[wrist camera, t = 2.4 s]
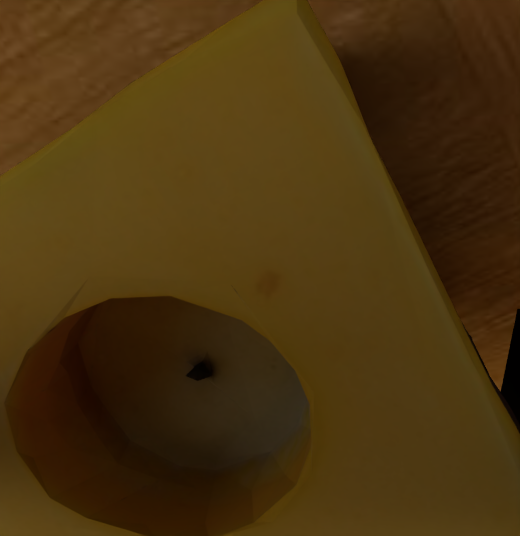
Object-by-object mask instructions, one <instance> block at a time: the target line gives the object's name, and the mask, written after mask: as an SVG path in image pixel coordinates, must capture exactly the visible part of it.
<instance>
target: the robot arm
mask: <svg viewBox="0 0 520 536" xmlns="http://www.w3.org/2000/svg"><path fill="white" fill-rule="evenodd" d="M501 394H502V395H503V397H504V398H505V400H506V401H507V403H508V404H509V406H510V408H511V409H512V411H513V413H514V415H515V417H516V419H517V420H518V422H519V424H520V309H517V314H516V319H515V324H514V329H513V334H512V339H511V344H510V349H509V354H508V359H507V364H506V369H505V373H504V378H503V383H502V388H501Z"/></svg>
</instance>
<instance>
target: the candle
mask: <svg viewBox="0 0 520 536" xmlns="http://www.w3.org/2000/svg"><path fill="white" fill-rule="evenodd" d="M0 536H520V424H519V422H518V420H517V419H516V417H515V415H514V413H513V411H512V409H511V408H510V406H509V404H508V403H507V401H506V400H505V398H504V397H503V395H502V394H501V392H500V391H499V389H498V388H497V386H496V385H495V383H494V382H493V380H492V379H491V377H490V376H489V373H488V371H487V369H486V367H485V365H484V363H483V361H482V359H481V357H480V355H479V353H478V351H477V349H476V346H475V345H474V343H473V341H472V337H471V336H470V335H469V334H468V332H467V331H466V329H465V327H464V325H463V323H462V322H461V320H460V318H459V316H458V314H457V312H456V310H455V308H454V306H453V304H452V302H451V300H450V298H449V296H448V294H447V292H446V290H445V287H444V285H443V283H442V281H441V279H440V277H439V275H438V273H437V271H436V269H435V267H434V265H433V262H432V260H431V258H430V256H429V254H428V252H427V250H426V248H425V246H424V244H423V242H422V240H421V238H420V236H419V233H418V231H417V229H416V227H415V225H414V223H413V221H412V219H411V217H410V215H409V213H408V211H407V209H406V207H405V204H404V202H403V200H402V198H401V196H400V194H399V192H398V190H397V188H396V186H395V185H394V183H393V181H392V179H391V177H390V175H389V173H388V171H387V169H386V167H385V165H384V163H383V161H382V159H381V158H380V156H379V154H378V152H377V150H376V148H375V146H374V144H373V141H372V139H371V137H370V134H369V132H368V129H367V127H366V124H365V122H364V119H363V117H362V114H361V112H360V109H359V107H358V104H357V102H356V99H355V97H354V94H353V92H352V89H351V87H350V84H349V82H348V79H347V77H346V74H345V72H344V69H343V67H342V64H341V62H340V59H339V57H338V56H337V54H336V52H335V50H334V48H333V46H332V45H331V43H330V41H329V39H328V37H327V36H326V34H325V32H324V30H323V28H322V27H321V25H320V23H319V21H318V19H317V18H316V16H315V14H314V12H313V10H312V9H311V7H310V5H309V3H308V1H307V0H264V1H262V2H260V3H259V4H257V5H255V6H254V7H252V8H250V9H249V10H247V11H245V12H244V13H242V14H240V15H239V16H237V17H235V18H234V19H232V20H230V21H229V22H227V23H225V24H224V25H222V26H221V27H219V28H218V29H216V30H214V31H213V32H211V33H210V34H208V35H206V36H205V37H203V38H202V39H200V40H198V41H197V42H195V43H194V44H192V45H191V46H189V47H187V48H186V49H184V50H183V51H181V52H179V53H178V54H176V55H175V56H173V57H171V58H170V59H168V60H167V61H165V62H164V63H162V64H160V65H159V66H157V67H156V68H154V69H152V70H151V71H149V72H148V73H146V74H144V75H143V76H141V77H140V78H138V79H137V80H135V81H133V82H132V83H130V84H129V85H128V86H126V87H125V88H124V89H123V90H121V91H120V92H119V93H117V94H116V95H115V96H113V97H112V98H111V99H110V100H108V101H107V102H106V103H104V104H103V105H102V106H101V107H99V108H98V109H97V110H95V111H94V112H93V113H91V114H90V115H89V116H88V117H86V118H85V119H84V120H82V121H81V122H80V123H78V124H77V125H76V126H75V127H73V128H72V129H71V130H69V131H68V132H66V133H64V134H63V135H61V136H60V137H58V138H57V139H55V140H54V141H52V142H51V143H49V144H48V145H46V146H45V147H43V148H42V149H40V150H39V151H37V152H36V153H34V154H33V155H31V156H30V157H28V158H27V159H25V160H24V161H22V162H20V163H18V164H17V165H16V166H15V167H13V168H12V169H10V170H9V171H7V172H6V173H4V174H3V175H1V176H0Z"/></svg>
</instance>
